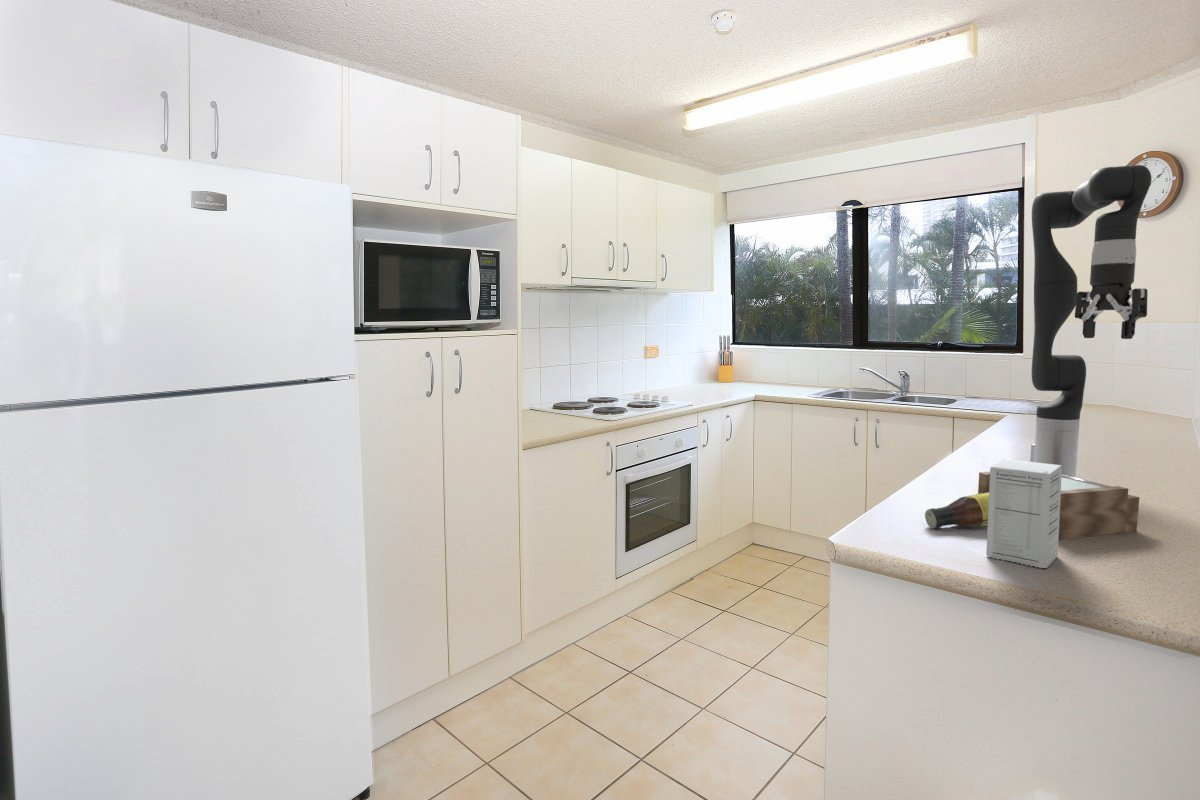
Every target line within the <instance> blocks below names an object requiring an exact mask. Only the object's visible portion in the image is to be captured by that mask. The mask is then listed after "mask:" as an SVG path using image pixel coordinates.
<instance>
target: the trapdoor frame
mask: <svg viewBox="0 0 1200 800" xmlns="http://www.w3.org/2000/svg"><path fill="white" fill-rule="evenodd" d="M989 486H990V471H983V472H978V485H977V488H978V489H977V494H981V493H986V492H989ZM1139 509H1140V496H1136V495H1131V494H1129V487H1123V486H1120V485H1116V486H1115V485H1114V486H1112V487H1101V488H1088V489H1076V490H1063V491H1061V498H1060V518H1059V539H1058V540H1061V539H1073V538H1074V537H1075V538H1082V537H1083V538H1084V536H1085V537H1095V536H1102V535H1103V536H1105V535H1113V534H1115V535H1116V534H1124V533H1125V534H1126V533H1134V532H1135V531H1136V532H1137V531H1138V530H1137V529H1138V520H1139V519H1138V517H1139Z"/></svg>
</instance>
